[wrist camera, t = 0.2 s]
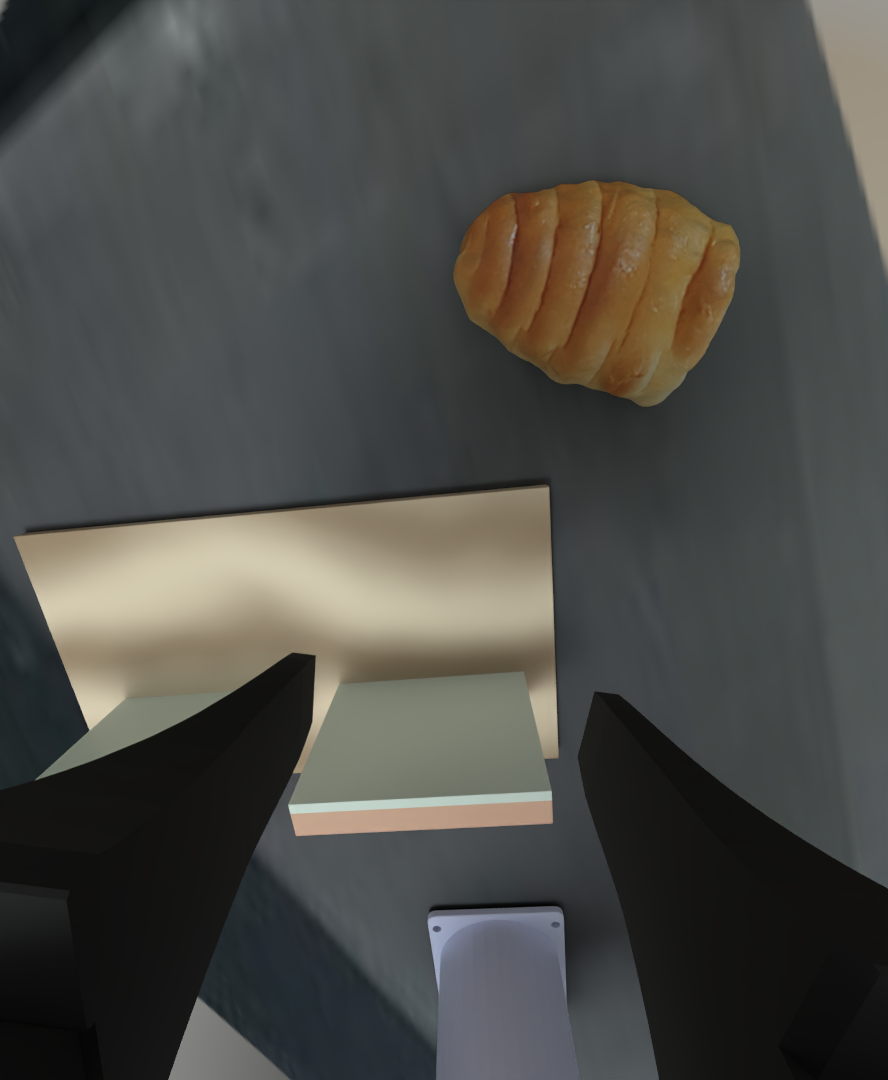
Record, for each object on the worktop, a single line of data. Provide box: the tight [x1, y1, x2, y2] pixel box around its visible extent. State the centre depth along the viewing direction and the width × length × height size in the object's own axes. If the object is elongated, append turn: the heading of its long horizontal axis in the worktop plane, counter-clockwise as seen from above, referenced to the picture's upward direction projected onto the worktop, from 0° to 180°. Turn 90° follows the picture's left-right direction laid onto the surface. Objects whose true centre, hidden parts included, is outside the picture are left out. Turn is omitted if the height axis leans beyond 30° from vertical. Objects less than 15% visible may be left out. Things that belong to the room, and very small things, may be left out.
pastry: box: [453, 180, 740, 407], centre depth 16 cm, size 9×7×4 cm
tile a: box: [288, 671, 553, 836], centre depth 19 cm, size 1×9×7 cm, turn 96°
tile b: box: [36, 691, 234, 780], centre depth 20 cm, size 1×9×7 cm, turn 96°
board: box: [14, 484, 558, 773], centre depth 22 cm, size 14×24×1 cm, turn 96°
